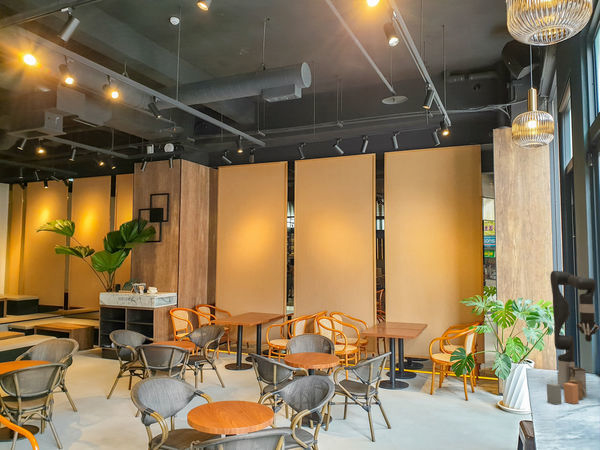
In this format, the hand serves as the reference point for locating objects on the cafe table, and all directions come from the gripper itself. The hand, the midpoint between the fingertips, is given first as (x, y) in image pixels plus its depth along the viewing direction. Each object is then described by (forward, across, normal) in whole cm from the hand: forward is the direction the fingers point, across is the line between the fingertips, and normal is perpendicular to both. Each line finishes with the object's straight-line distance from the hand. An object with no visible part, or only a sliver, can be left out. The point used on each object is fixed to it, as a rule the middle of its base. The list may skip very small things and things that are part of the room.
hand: (588, 341), depth 268 cm
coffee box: (+33, +8, -1) cm, 34 cm away
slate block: (+33, +4, +29) cm, 44 cm away
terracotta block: (+33, 0, +19) cm, 38 cm away
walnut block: (+33, +4, +9) cm, 34 cm away
